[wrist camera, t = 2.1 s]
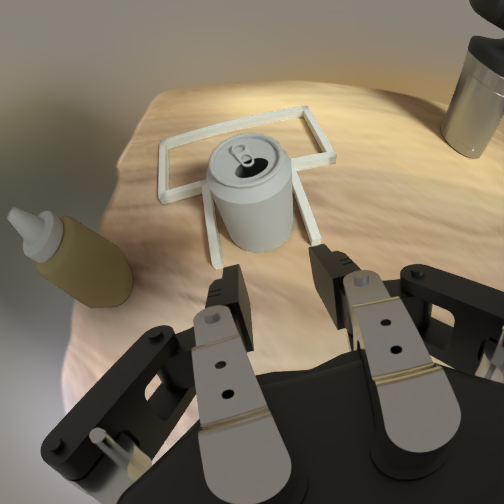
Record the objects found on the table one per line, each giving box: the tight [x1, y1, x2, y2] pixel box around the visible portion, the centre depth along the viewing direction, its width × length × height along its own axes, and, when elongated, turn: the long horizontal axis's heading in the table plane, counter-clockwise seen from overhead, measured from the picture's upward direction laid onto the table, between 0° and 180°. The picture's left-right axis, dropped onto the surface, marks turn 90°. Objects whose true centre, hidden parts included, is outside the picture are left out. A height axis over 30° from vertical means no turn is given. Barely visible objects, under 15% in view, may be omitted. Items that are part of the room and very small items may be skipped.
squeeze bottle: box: [7, 206, 133, 308], centre depth 24 cm, size 8×8×18 cm
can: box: [206, 133, 293, 253], centre depth 27 cm, size 8×8×12 cm
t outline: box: [158, 106, 337, 270], centre depth 35 cm, size 23×24×2 cm
